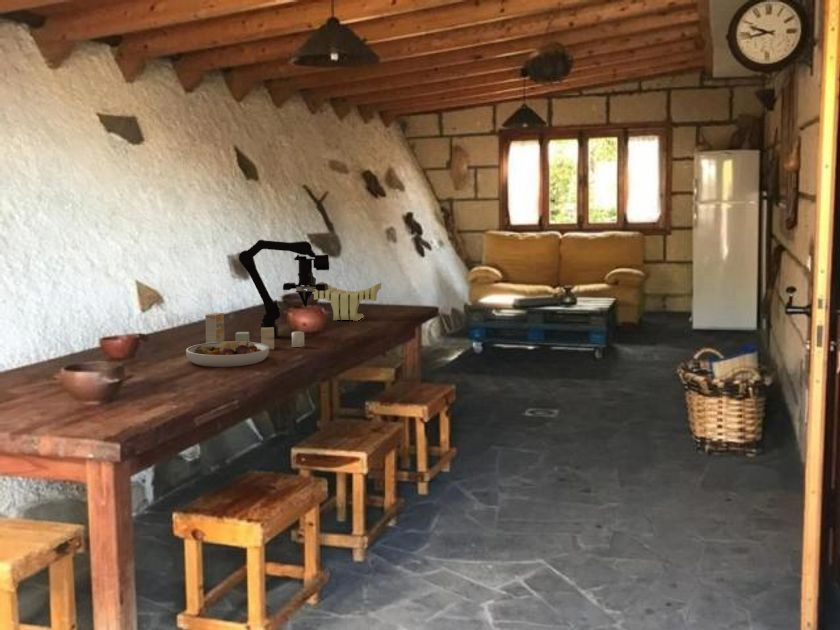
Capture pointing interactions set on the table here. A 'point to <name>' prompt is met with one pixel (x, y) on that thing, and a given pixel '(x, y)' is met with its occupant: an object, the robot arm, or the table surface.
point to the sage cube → (242, 336)
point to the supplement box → (214, 327)
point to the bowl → (227, 353)
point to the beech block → (267, 337)
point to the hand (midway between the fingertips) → (305, 306)
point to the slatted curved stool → (347, 301)
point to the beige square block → (297, 339)
